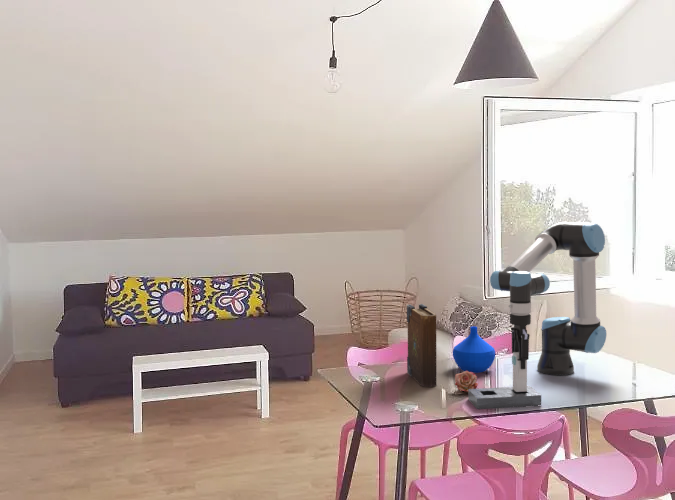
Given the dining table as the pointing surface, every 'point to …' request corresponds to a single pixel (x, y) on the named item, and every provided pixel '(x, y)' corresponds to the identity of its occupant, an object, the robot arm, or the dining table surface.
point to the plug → (518, 383)
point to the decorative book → (421, 345)
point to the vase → (474, 353)
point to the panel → (503, 398)
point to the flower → (466, 381)
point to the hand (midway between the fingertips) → (519, 375)
